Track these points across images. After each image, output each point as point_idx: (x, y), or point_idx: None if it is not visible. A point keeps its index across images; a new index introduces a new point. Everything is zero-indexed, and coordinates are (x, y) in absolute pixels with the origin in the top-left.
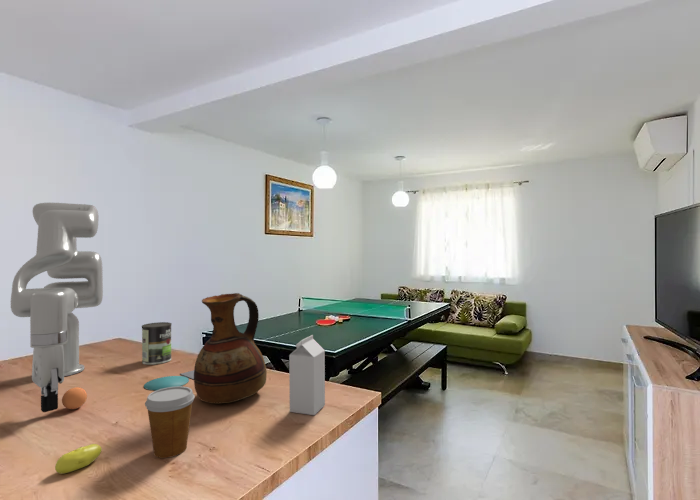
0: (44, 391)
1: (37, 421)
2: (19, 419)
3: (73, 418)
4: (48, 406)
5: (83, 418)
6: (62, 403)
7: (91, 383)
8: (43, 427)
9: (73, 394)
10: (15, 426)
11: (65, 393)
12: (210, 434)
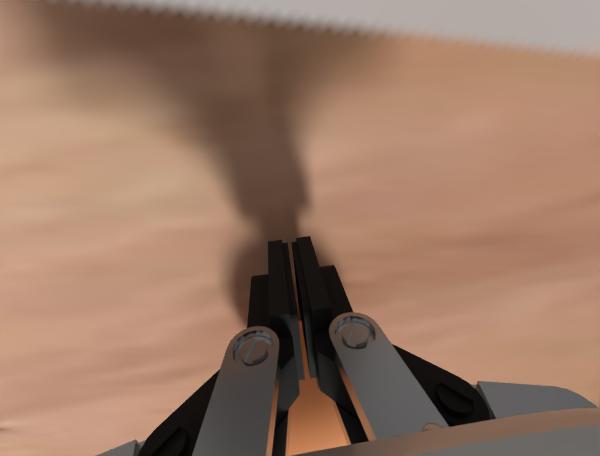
0: (234, 390)
1: (232, 197)
2: (355, 116)
3: (157, 326)
4: (251, 287)
5: (128, 353)
6: (302, 332)
7: (558, 383)
8: (97, 215)
9: None
10: (229, 80)
11: (312, 399)
12: None
